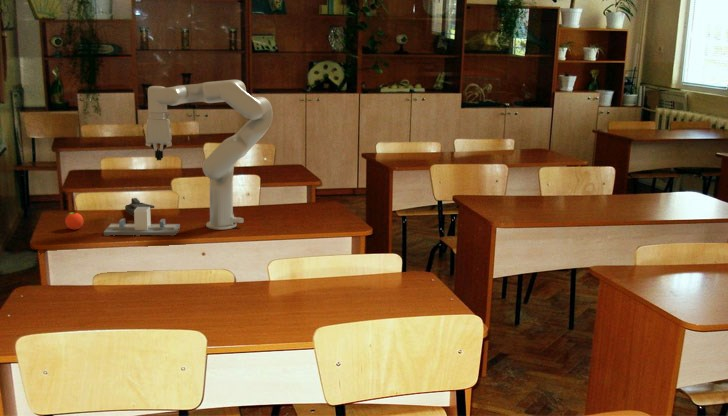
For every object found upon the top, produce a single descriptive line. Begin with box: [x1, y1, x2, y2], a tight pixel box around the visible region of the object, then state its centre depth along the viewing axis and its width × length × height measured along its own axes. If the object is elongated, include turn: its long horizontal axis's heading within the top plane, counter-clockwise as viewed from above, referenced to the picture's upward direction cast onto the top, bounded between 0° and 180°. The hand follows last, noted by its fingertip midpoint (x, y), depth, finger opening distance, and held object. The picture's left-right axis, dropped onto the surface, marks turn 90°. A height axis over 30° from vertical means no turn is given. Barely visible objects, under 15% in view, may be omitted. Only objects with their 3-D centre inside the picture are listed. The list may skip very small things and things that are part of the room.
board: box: [103, 223, 181, 237], centre depth 306 cm, size 28×13×2 cm, turn 96°
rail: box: [108, 218, 176, 229], centre depth 306 cm, size 26×4×3 cm, turn 96°
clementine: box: [65, 212, 84, 231], centre depth 306 cm, size 8×7×7 cm
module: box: [133, 207, 152, 230], centre depth 305 cm, size 5×7×8 cm
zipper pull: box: [124, 197, 155, 217], centre depth 332 cm, size 9×7×25 cm
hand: (159, 159), depth 315 cm, fingers closed
